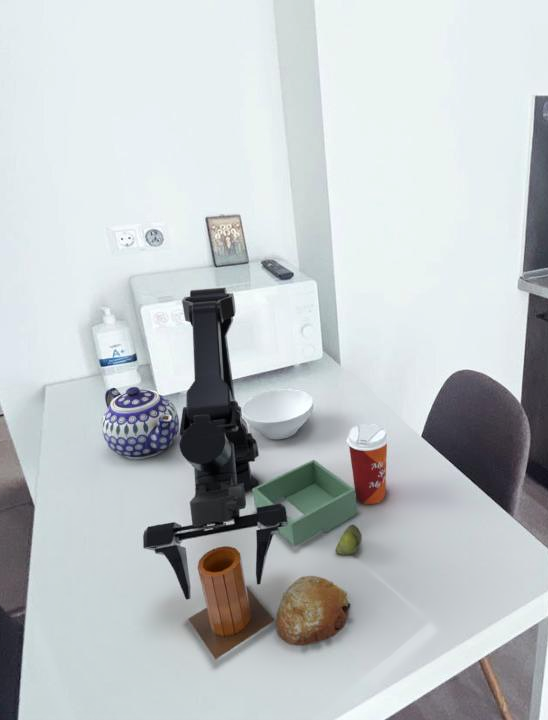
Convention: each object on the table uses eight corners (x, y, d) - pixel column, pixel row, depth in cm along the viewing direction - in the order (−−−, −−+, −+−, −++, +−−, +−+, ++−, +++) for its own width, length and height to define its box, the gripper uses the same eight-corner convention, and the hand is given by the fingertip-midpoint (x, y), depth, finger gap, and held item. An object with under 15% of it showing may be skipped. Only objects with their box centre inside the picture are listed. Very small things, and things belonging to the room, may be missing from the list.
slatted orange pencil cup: (204, 619, 78) (191, 560, 73) (239, 598, 81) (228, 540, 77) (221, 642, 74) (208, 582, 70) (257, 619, 78) (247, 561, 73)
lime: (336, 563, 89) (334, 539, 87) (335, 542, 93) (332, 519, 91) (364, 559, 90) (362, 535, 88) (360, 538, 94) (359, 515, 92)
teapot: (86, 443, 123) (68, 384, 117) (150, 416, 134) (136, 361, 128) (143, 484, 109) (126, 419, 103) (209, 450, 120) (197, 390, 114)
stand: (188, 623, 78) (181, 595, 76) (246, 589, 84) (241, 562, 82) (216, 665, 72) (209, 635, 70) (276, 625, 78) (271, 596, 76)
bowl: (329, 425, 129) (327, 399, 126) (280, 457, 117) (277, 429, 114) (281, 408, 137) (278, 383, 134) (230, 437, 125) (226, 410, 122)
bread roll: (297, 610, 85) (269, 577, 81) (356, 585, 83) (330, 550, 80) (289, 669, 76) (257, 634, 72) (355, 641, 74) (325, 604, 71)
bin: (256, 513, 100) (252, 488, 98) (316, 483, 109) (313, 459, 106) (294, 550, 92) (291, 524, 89) (356, 514, 100) (355, 489, 98)
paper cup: (384, 510, 101) (382, 446, 95) (345, 505, 102) (340, 441, 96) (394, 485, 108) (393, 423, 102) (357, 480, 109) (353, 419, 103)
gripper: (130, 479, 70) (132, 609, 65) (278, 456, 74) (292, 576, 69) (152, 492, 80) (155, 606, 75) (282, 471, 85) (294, 577, 79)
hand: (224, 591), depth 74 cm, fingers open, 9 cm apart
